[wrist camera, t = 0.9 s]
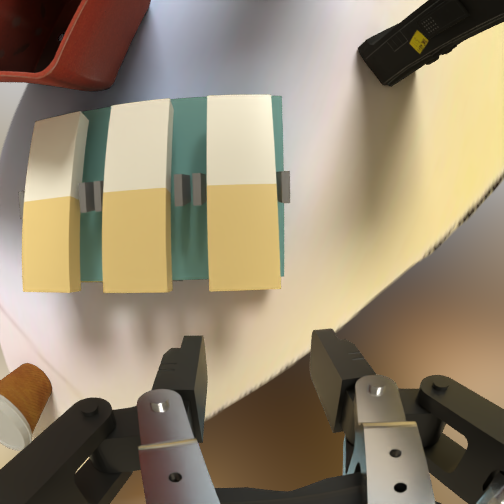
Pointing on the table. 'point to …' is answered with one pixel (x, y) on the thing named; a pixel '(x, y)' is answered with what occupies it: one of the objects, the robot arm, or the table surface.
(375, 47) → the portable radio
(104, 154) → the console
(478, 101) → the table surface
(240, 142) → the rocker
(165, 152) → the rocker
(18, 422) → the disposable coffee cup
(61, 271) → the rocker
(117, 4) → the plant pot
